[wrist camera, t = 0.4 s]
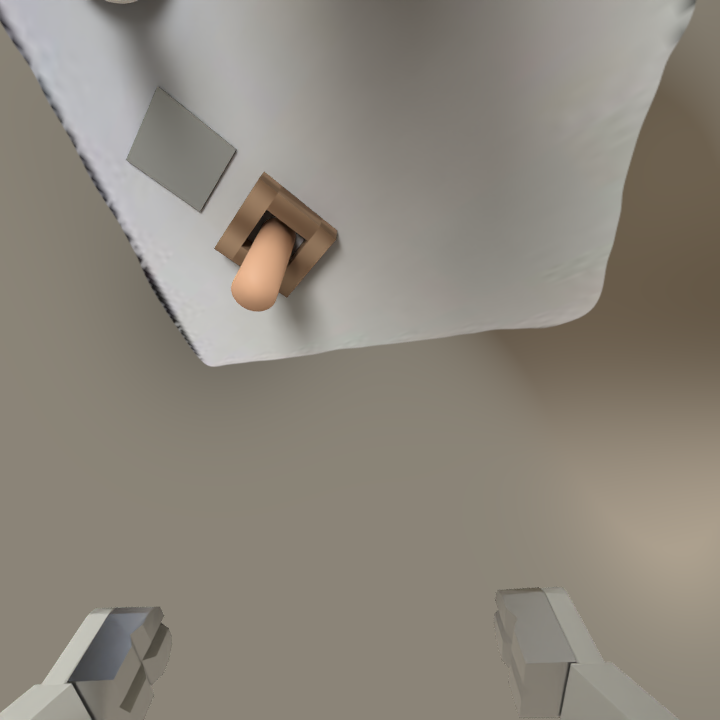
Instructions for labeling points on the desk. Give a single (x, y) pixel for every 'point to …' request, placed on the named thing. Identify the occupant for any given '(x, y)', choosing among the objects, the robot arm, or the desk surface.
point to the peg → (264, 266)
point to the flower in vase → (121, 1)
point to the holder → (289, 212)
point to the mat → (179, 150)
